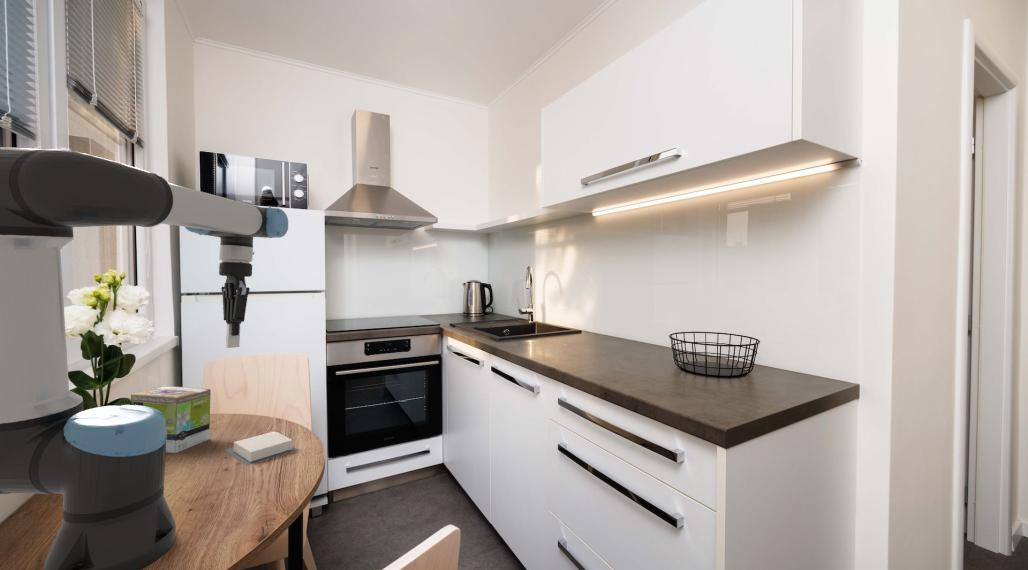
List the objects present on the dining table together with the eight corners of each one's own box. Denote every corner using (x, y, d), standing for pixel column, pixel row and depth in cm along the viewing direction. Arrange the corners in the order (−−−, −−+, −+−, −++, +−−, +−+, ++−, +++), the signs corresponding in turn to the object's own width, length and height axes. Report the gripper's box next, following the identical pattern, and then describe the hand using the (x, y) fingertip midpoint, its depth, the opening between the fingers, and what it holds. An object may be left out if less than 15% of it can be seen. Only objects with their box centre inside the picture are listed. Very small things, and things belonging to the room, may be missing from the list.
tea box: (210, 440, 112) (212, 388, 112) (174, 455, 102) (176, 397, 102) (166, 435, 114) (168, 384, 114) (126, 449, 104) (128, 393, 104)
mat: (246, 467, 96) (246, 465, 96) (223, 451, 104) (223, 450, 104) (297, 451, 106) (297, 449, 106) (272, 438, 114) (272, 436, 114)
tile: (233, 452, 103) (250, 462, 98) (233, 442, 103) (250, 452, 98) (274, 440, 111) (292, 449, 106) (274, 431, 111) (292, 440, 106)
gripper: (261, 262, 109) (257, 348, 109) (242, 263, 117) (238, 343, 117) (229, 260, 103) (225, 351, 103) (211, 261, 111) (207, 346, 111)
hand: (232, 347), depth 110 cm, fingers closed
